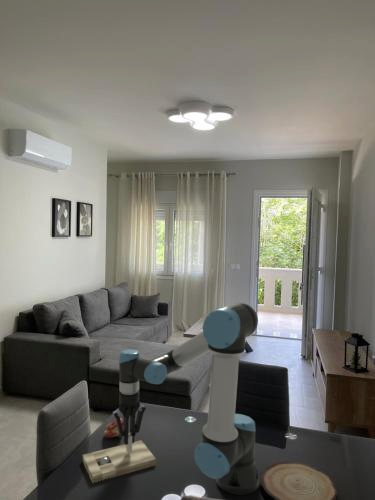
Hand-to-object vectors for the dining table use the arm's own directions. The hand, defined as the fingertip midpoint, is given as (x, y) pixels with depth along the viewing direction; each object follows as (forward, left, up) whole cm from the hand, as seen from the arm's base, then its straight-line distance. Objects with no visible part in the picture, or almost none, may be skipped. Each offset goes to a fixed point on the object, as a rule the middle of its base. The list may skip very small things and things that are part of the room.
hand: (129, 451), depth 151 cm
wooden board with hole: (0, +4, -4) cm, 5 cm away
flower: (+20, 0, -4) cm, 20 cm away
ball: (0, +10, -2) cm, 10 cm away
